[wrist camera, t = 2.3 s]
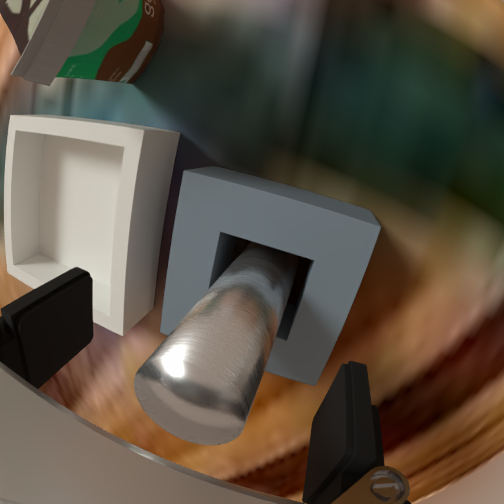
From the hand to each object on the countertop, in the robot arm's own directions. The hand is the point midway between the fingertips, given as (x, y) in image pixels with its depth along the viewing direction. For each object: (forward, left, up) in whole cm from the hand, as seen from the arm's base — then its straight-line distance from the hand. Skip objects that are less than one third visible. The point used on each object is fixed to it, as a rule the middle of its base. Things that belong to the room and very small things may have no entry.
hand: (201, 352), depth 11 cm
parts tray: (+12, 0, -9) cm, 15 cm away
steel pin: (-1, 0, -9) cm, 9 cm away
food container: (+12, -14, -9) cm, 21 cm away
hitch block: (-1, 0, -9) cm, 9 cm away
